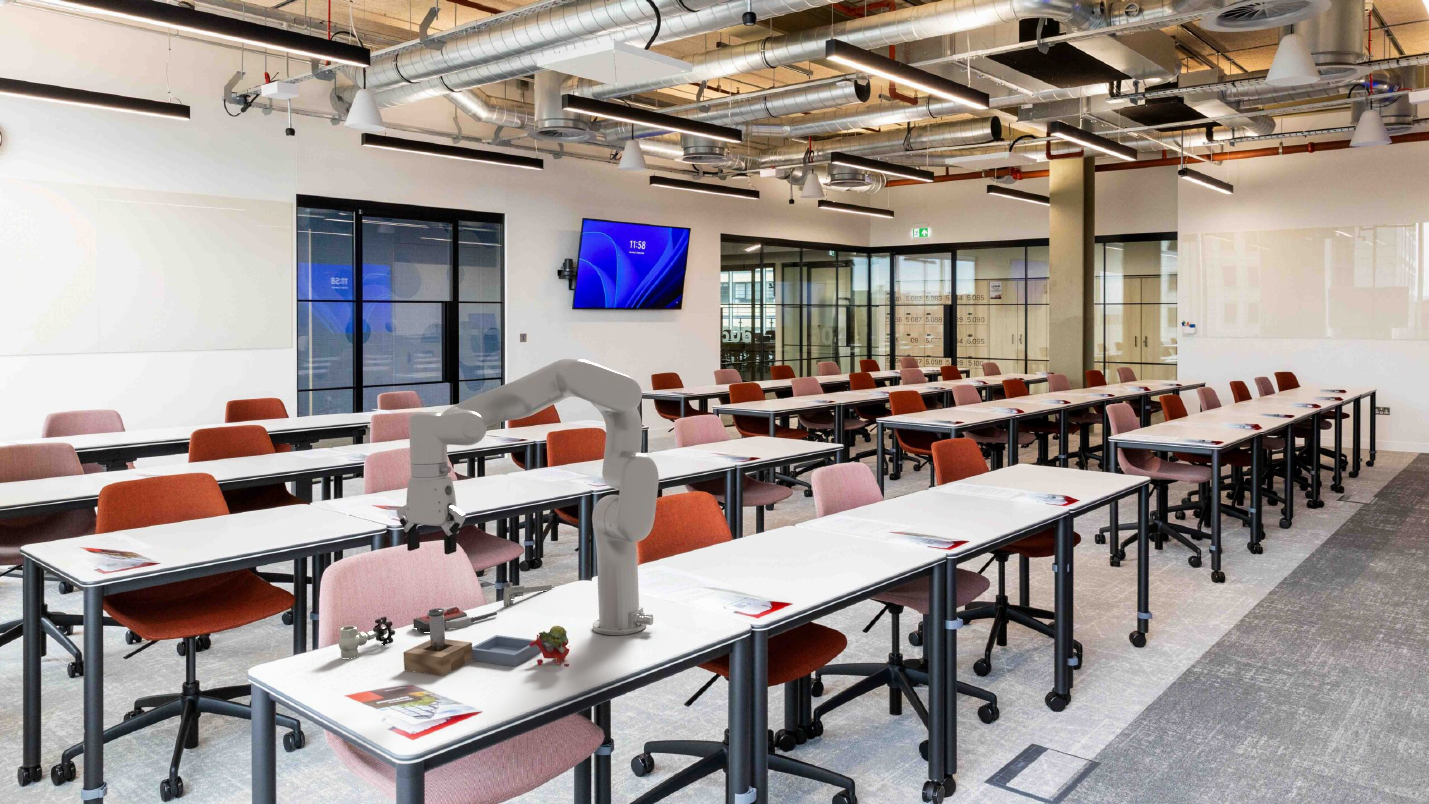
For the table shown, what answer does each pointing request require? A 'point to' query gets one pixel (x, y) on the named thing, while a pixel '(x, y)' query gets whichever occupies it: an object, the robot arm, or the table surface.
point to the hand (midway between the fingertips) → (431, 551)
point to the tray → (504, 650)
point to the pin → (437, 629)
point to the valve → (363, 637)
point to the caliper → (521, 591)
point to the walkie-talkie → (449, 619)
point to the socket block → (438, 657)
